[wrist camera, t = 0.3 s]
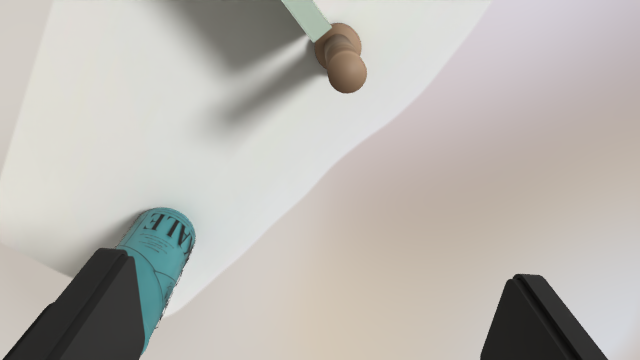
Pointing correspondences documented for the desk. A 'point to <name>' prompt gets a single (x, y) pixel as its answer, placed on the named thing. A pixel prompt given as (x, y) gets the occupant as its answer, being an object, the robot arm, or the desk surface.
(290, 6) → the panel
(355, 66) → the brown turned wooden spindle
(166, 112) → the desk surface
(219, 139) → the desk surface
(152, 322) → the beverage bottle
